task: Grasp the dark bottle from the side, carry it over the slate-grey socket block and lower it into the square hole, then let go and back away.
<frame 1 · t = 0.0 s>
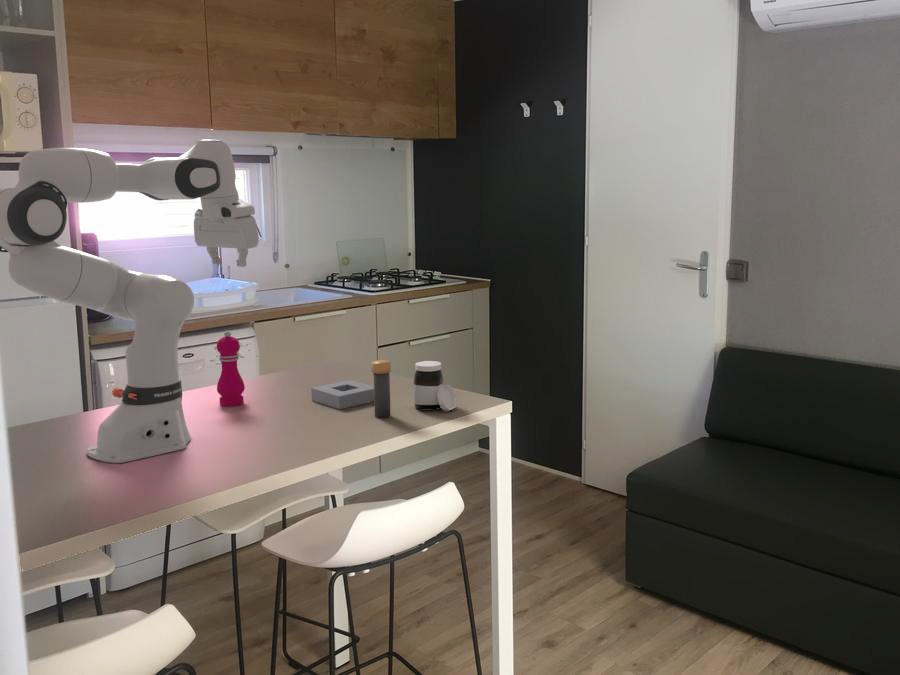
hand: (229, 265, 206), 39 cm above the table, tool pointing down, fingers open, 8 cm apart
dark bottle: (382, 416, 214), on the table
pepper mill: (231, 404, 228), on the table
spread jar: (435, 408, 221), on the table
socket: (345, 400, 230), on the table
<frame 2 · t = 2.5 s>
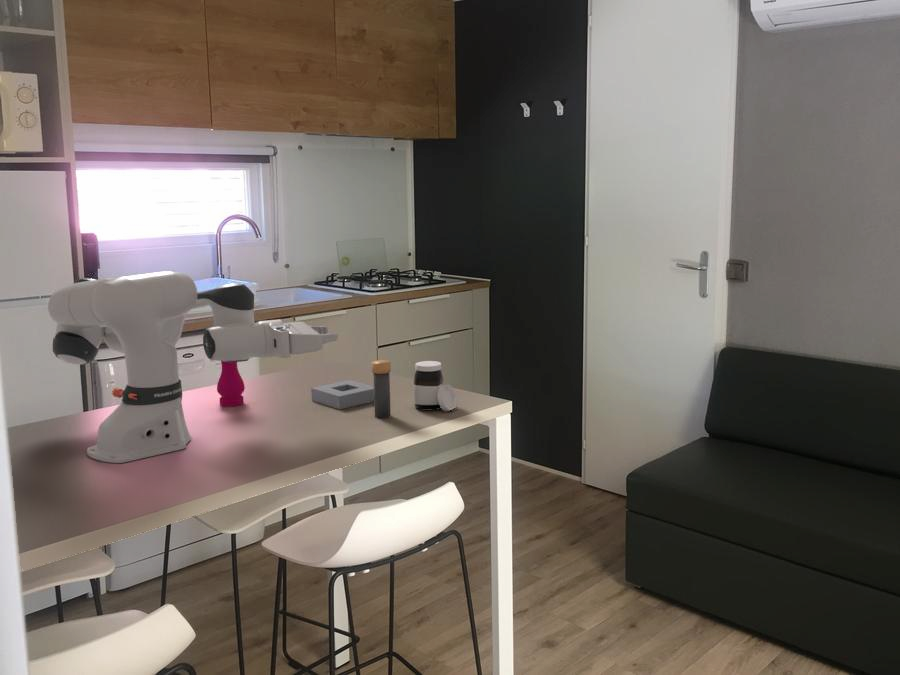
hand: (331, 333, 206), 22 cm above the table, tool horizontal, fingers open, 8 cm apart
nothing on the table moved.
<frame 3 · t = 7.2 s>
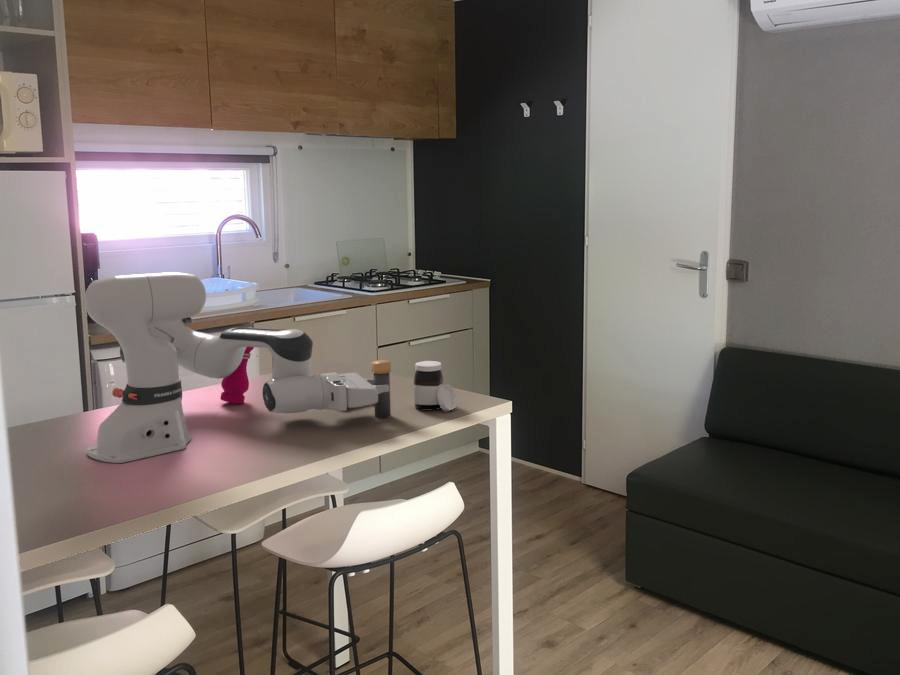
hand: (385, 385, 213), 8 cm above the table, tool horizontal, fingers closed on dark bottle, 4 cm apart
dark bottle: (382, 416, 214), on the table, touching gripper
pepper mill: (231, 401, 228), point 1 cm above the table, touching arm
everything else where it was.
when the fingers open (10 cm above the table, at t = 12.5 s): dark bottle drops 1 cm, resting on socket.
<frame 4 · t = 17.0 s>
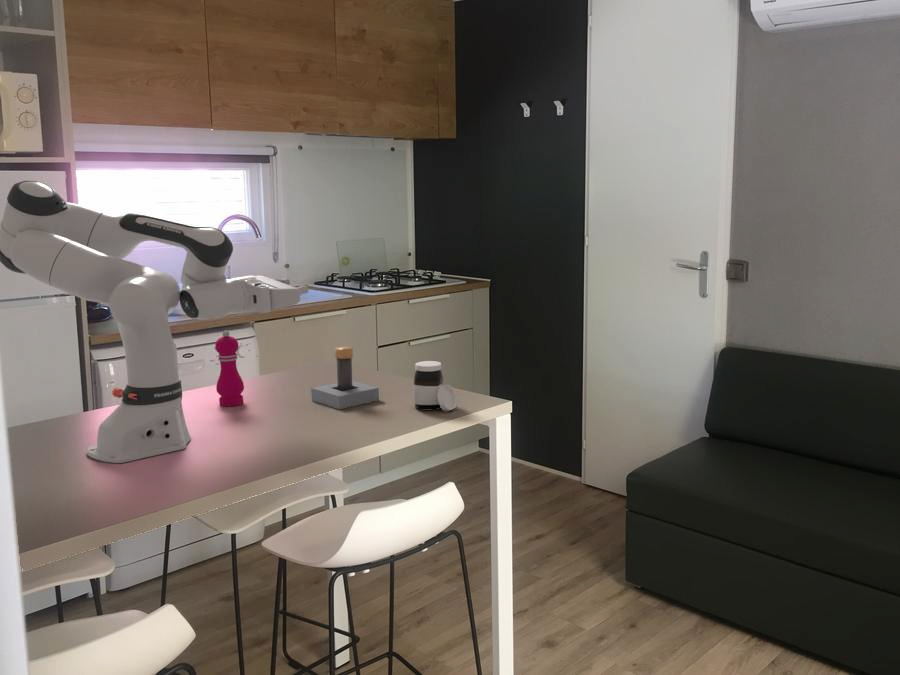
hand: (297, 285, 217), 33 cm above the table, tool horizontal, fingers open, 8 cm apart
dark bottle: (345, 398, 230), resting on socket
pepper mill: (231, 404, 228), on the table
everything else where it was.
at the end: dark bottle 0.0 cm off-centre on the socket, point 0.4 cm above the socket's base; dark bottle tilted 1°; the gripper is holding nothing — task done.
